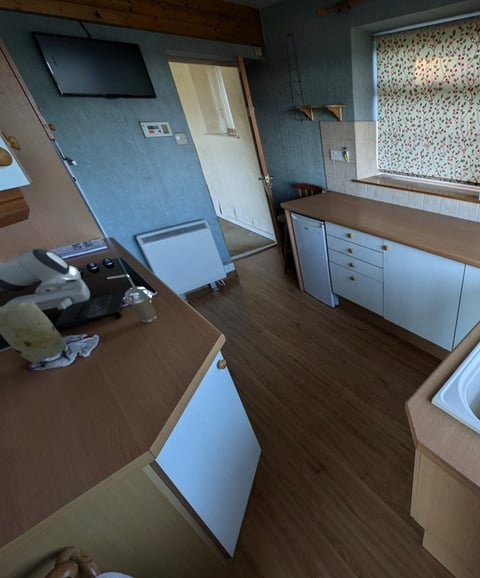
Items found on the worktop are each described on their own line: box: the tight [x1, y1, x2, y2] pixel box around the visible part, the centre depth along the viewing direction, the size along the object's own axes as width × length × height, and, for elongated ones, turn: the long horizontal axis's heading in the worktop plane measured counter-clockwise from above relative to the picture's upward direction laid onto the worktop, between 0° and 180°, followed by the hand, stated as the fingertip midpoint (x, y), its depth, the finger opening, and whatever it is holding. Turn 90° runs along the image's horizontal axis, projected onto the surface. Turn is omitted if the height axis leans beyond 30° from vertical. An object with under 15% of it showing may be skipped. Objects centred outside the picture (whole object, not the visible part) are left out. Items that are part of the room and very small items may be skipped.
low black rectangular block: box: [53, 291, 126, 334], centre depth 112 cm, size 18×16×3 cm
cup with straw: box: [106, 274, 158, 324], centre depth 105 cm, size 8×9×20 cm
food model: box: [0, 301, 68, 364], centre depth 87 cm, size 10×7×20 cm
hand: (40, 312), depth 94 cm, fingers open, 8 cm apart
